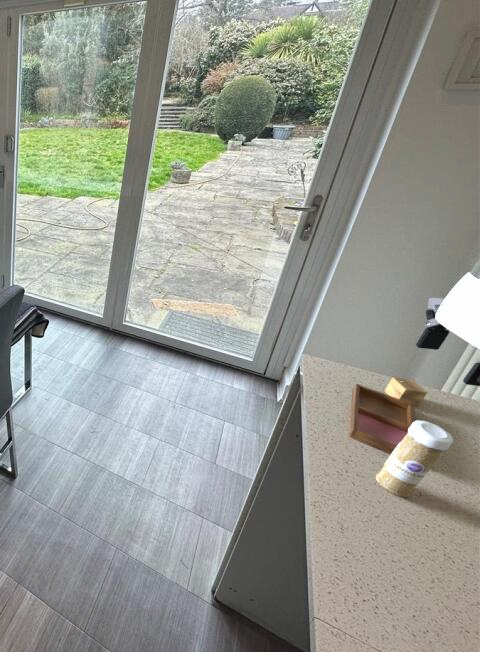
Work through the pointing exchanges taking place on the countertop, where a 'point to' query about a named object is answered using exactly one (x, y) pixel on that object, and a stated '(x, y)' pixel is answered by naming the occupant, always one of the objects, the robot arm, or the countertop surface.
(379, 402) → the tray
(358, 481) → the countertop surface
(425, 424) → the sprinkles bottle
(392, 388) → the oak block
